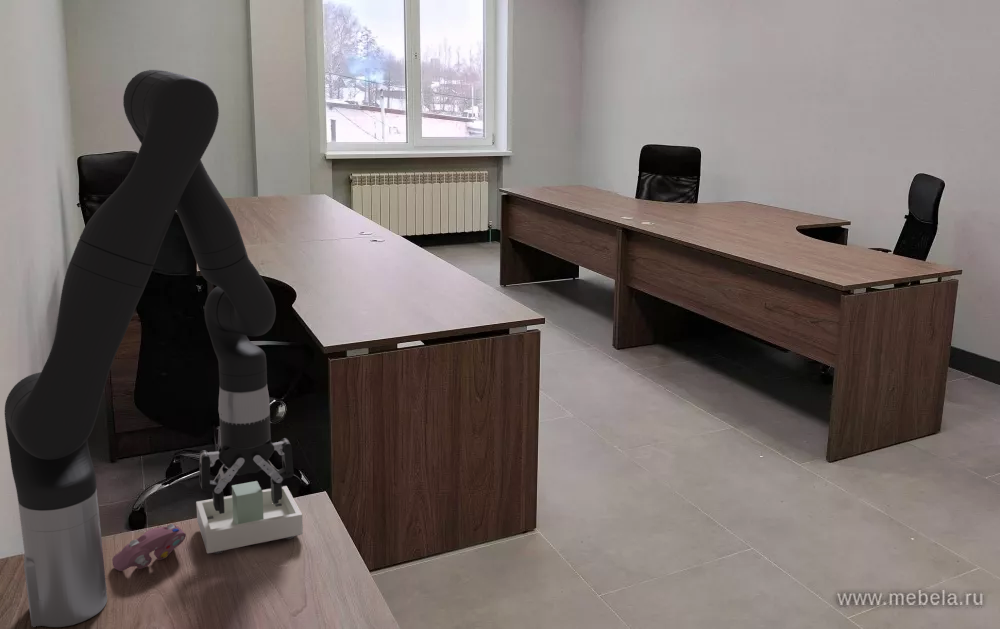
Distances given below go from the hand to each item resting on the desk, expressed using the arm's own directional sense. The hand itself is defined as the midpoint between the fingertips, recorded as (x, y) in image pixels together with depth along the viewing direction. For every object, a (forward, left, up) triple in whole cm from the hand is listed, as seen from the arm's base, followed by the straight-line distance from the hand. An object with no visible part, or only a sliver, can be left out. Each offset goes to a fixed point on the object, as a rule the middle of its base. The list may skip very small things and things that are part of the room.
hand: (248, 506), depth 133 cm
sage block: (0, 0, -3) cm, 3 cm away
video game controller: (-15, -2, -5) cm, 16 cm away
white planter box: (0, 0, -5) cm, 5 cm away
